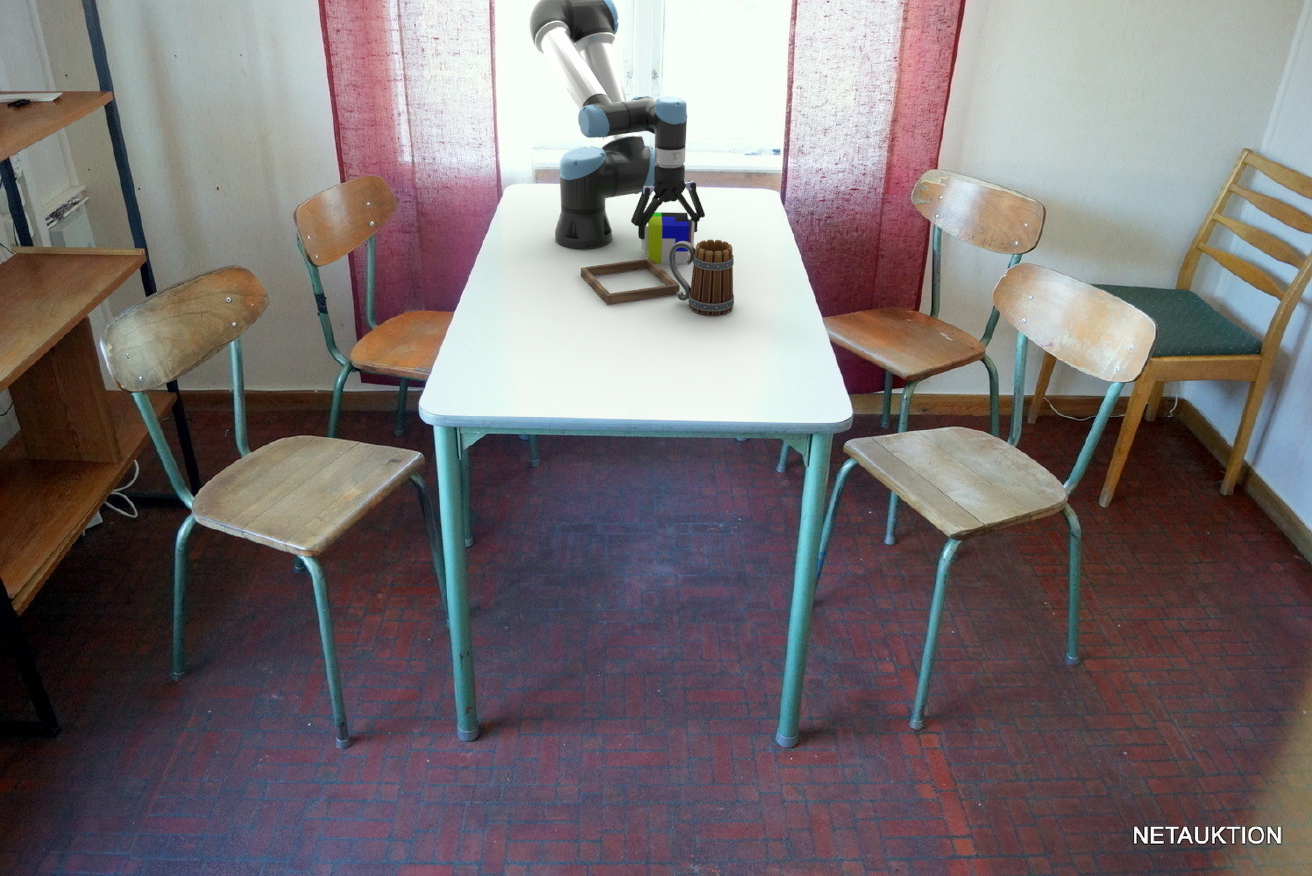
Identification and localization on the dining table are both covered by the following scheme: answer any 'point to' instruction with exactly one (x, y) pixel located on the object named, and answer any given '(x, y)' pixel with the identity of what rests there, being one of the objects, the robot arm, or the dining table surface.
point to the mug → (707, 277)
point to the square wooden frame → (626, 296)
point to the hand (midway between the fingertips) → (667, 247)
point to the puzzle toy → (667, 236)
